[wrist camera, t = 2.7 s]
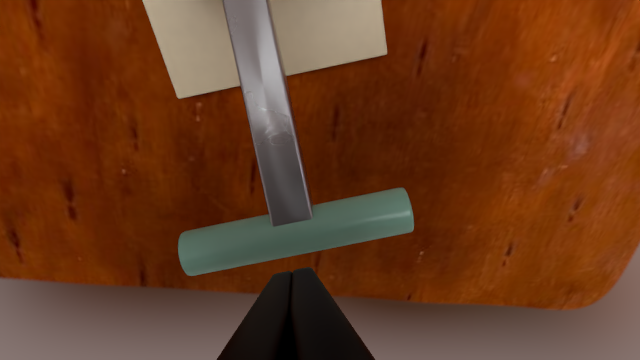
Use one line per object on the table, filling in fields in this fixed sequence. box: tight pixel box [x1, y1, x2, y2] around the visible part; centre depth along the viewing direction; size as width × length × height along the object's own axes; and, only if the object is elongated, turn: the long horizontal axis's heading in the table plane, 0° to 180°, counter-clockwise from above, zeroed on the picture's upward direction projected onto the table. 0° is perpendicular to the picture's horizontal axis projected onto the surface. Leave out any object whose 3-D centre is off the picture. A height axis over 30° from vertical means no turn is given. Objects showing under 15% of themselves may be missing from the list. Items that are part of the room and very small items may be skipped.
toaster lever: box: [178, 0, 414, 276], centre depth 10 cm, size 11×6×2 cm, turn 11°
